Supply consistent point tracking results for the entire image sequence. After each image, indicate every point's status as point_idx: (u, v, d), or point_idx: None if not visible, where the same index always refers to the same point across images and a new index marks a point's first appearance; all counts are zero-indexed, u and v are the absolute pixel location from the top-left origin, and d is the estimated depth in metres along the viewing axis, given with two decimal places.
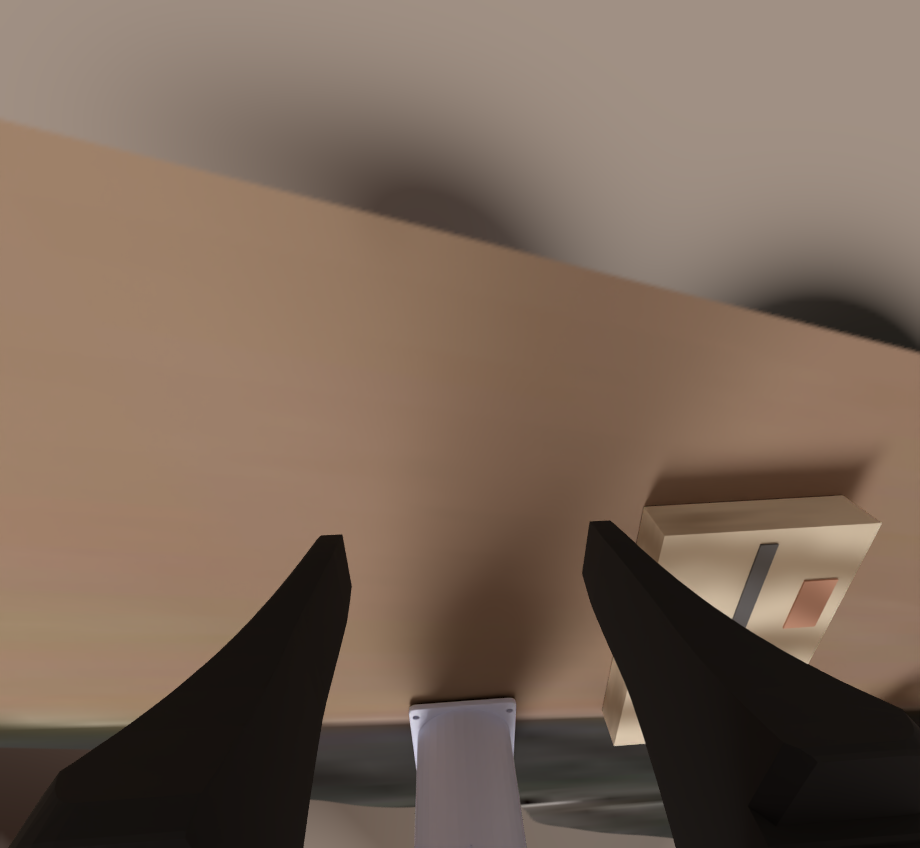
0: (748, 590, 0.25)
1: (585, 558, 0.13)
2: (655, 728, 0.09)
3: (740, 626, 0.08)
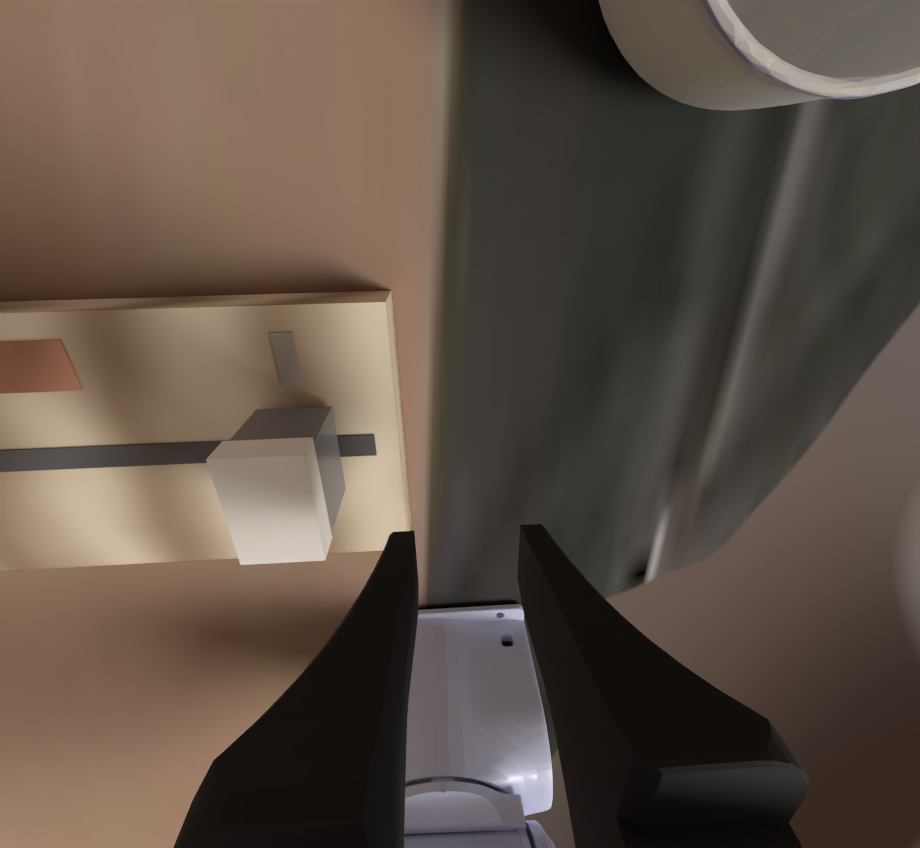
0: (29, 462, 0.18)
1: (518, 561, 0.13)
2: (563, 735, 0.09)
3: (638, 632, 0.08)
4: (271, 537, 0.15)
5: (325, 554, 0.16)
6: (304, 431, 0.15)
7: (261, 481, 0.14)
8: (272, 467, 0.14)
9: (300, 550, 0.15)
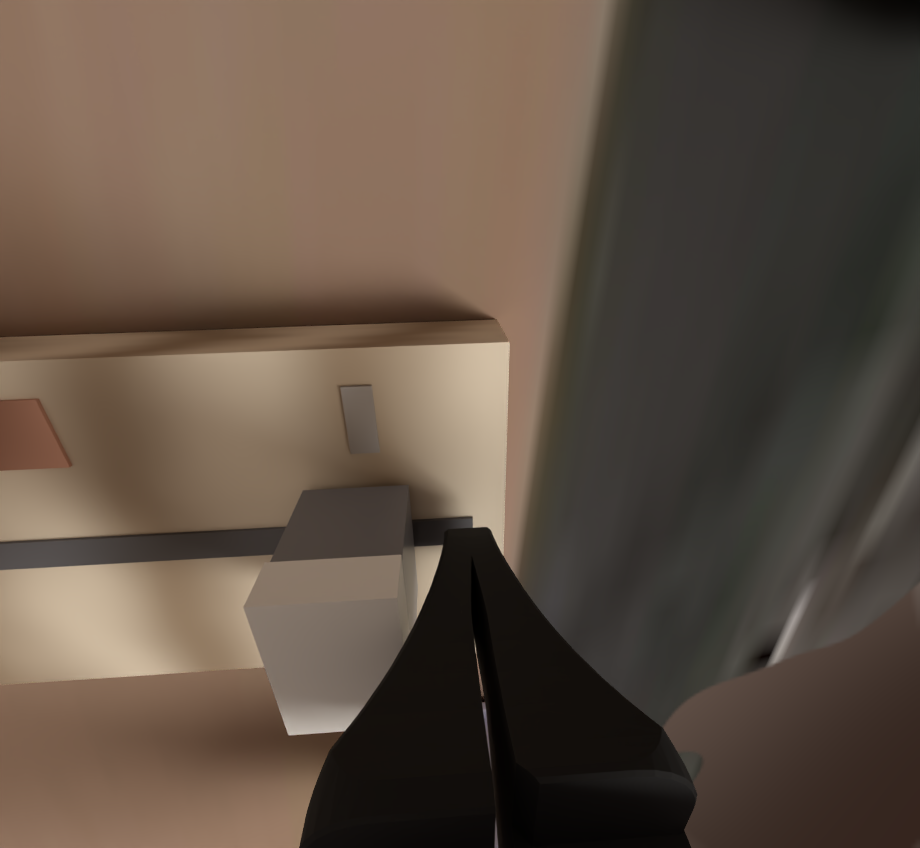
0: None
1: None
2: (491, 740, 0.09)
3: (558, 637, 0.08)
4: (336, 701, 0.10)
5: None
6: (381, 537, 0.10)
7: (328, 634, 0.09)
8: (347, 615, 0.09)
9: None
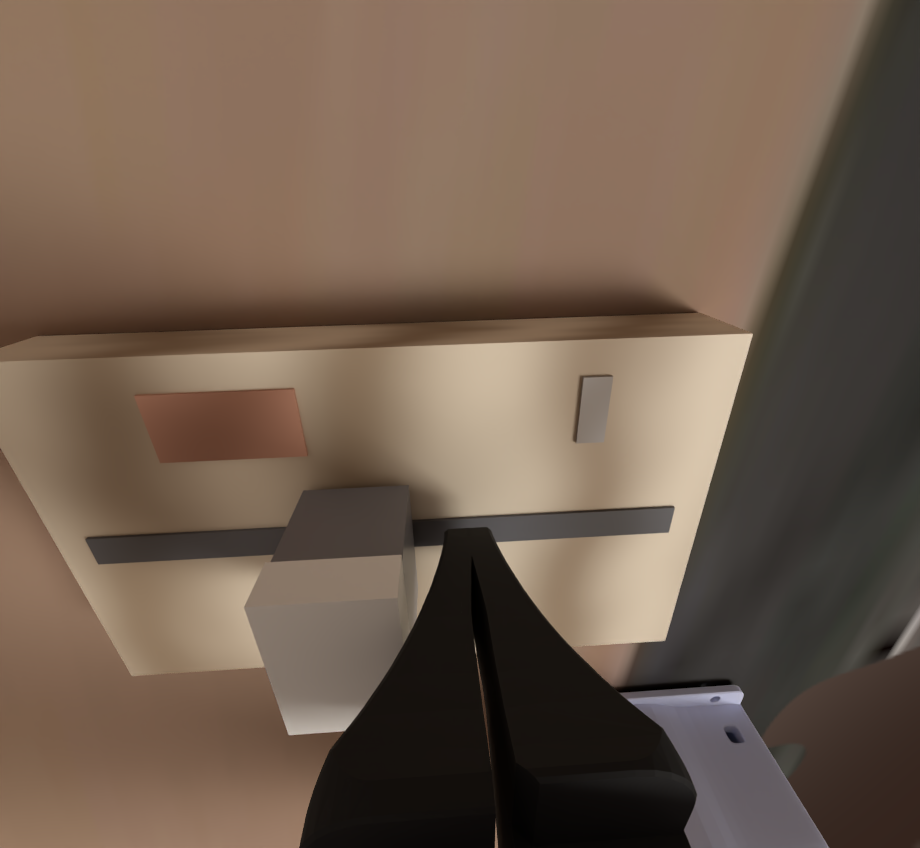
0: (214, 547, 0.13)
1: None
2: (491, 740, 0.09)
3: (558, 638, 0.08)
4: (336, 701, 0.10)
5: None
6: (382, 537, 0.10)
7: (328, 633, 0.09)
8: (347, 615, 0.09)
9: None
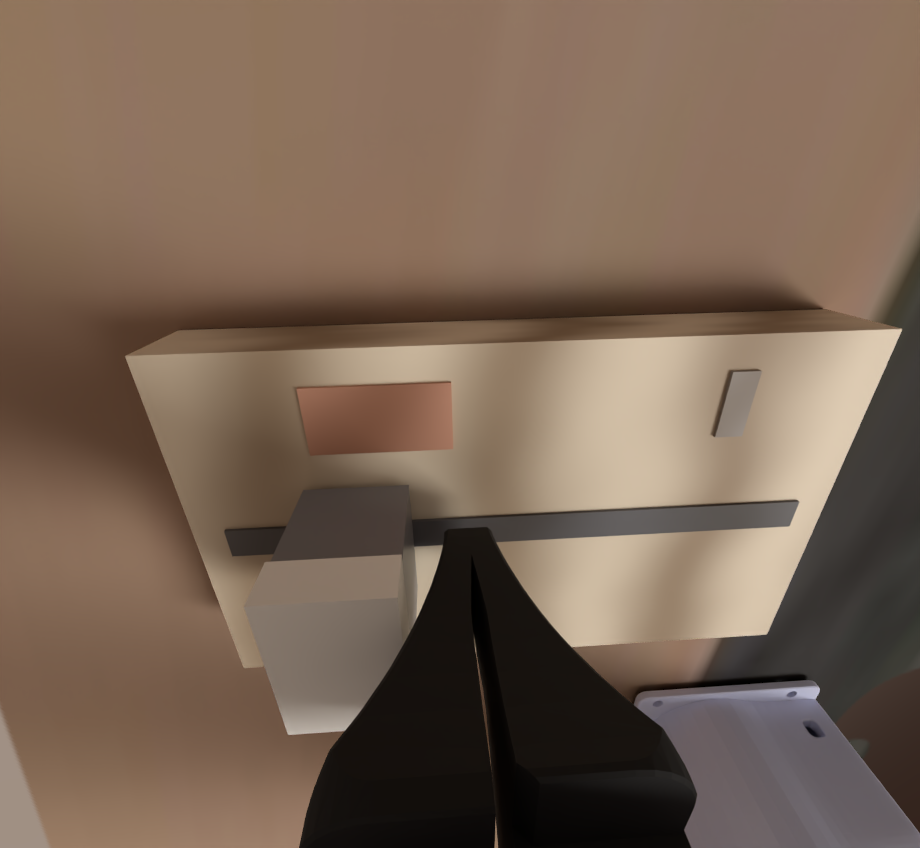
0: None
1: None
2: (491, 740, 0.09)
3: (558, 638, 0.08)
4: (336, 701, 0.10)
5: None
6: (381, 537, 0.10)
7: (328, 633, 0.09)
8: (347, 614, 0.09)
9: None
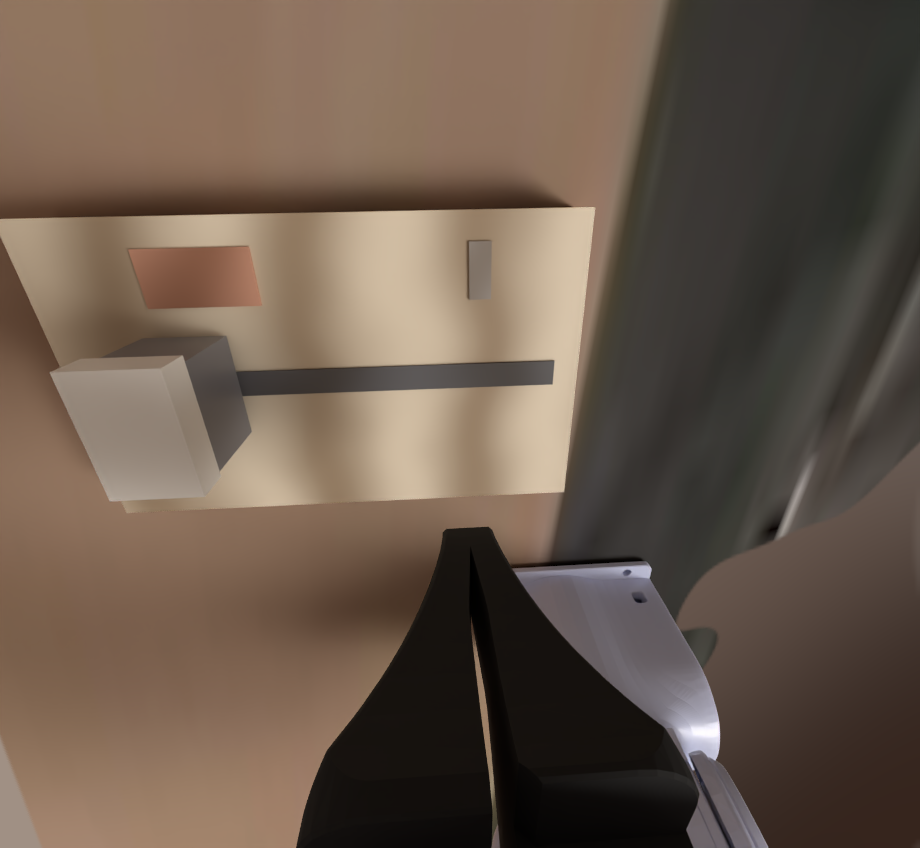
0: None
1: None
2: (492, 740, 0.09)
3: (559, 638, 0.08)
4: (139, 468, 0.13)
5: (205, 490, 0.14)
6: (180, 354, 0.14)
7: (117, 400, 0.12)
8: (127, 382, 0.12)
9: (174, 484, 0.14)
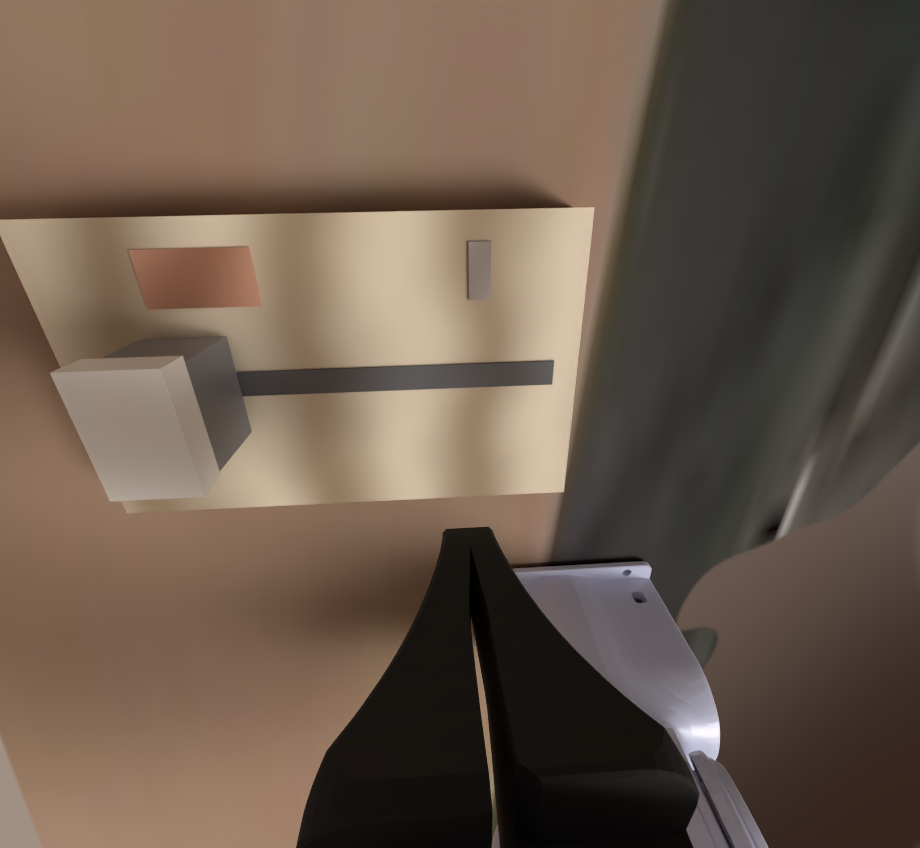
0: None
1: None
2: (492, 740, 0.09)
3: (559, 638, 0.08)
4: (139, 468, 0.13)
5: (205, 490, 0.14)
6: (180, 354, 0.14)
7: (117, 401, 0.12)
8: (127, 383, 0.12)
9: (174, 485, 0.14)
